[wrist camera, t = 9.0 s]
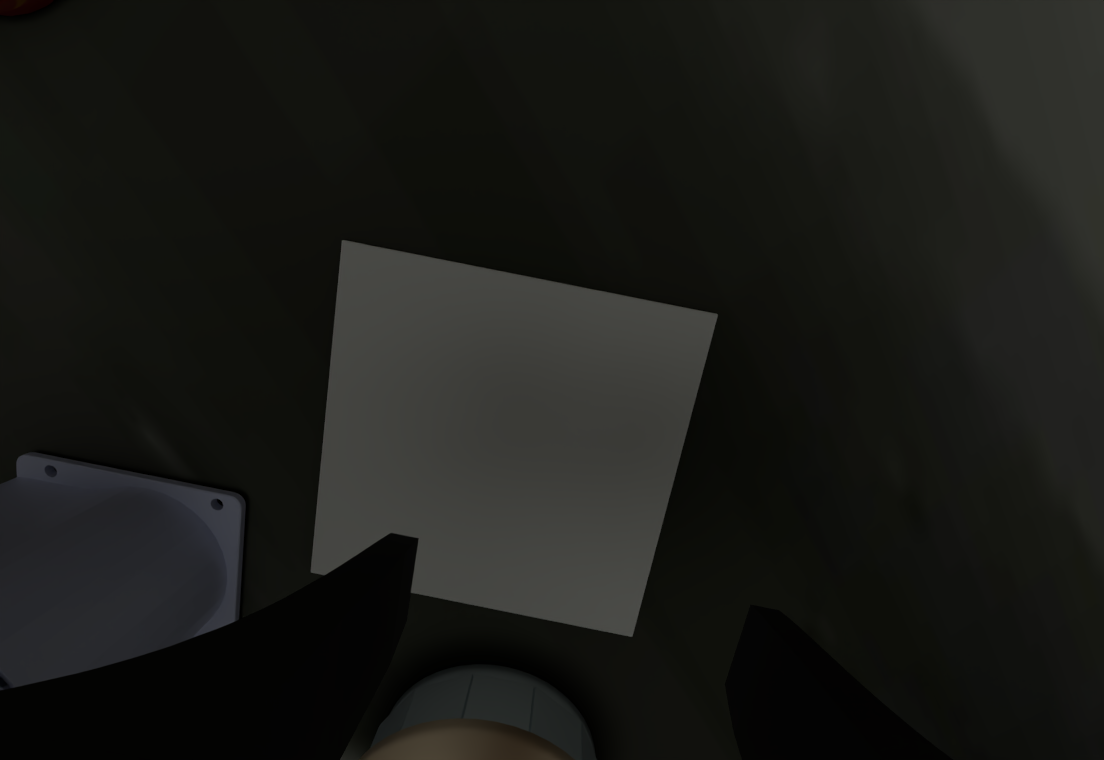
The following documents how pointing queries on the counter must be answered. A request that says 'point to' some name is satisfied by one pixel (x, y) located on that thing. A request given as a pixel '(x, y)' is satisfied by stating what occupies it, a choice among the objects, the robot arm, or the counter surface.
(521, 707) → the bowl
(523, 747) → the lid
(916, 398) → the counter surface
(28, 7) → the canned food
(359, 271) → the mat
